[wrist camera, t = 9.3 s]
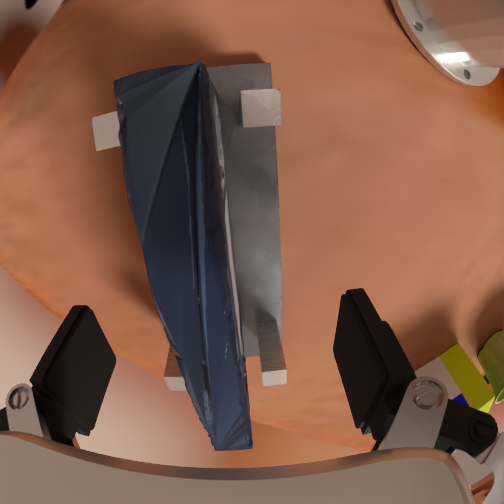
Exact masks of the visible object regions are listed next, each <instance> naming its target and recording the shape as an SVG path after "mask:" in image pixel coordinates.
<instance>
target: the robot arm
mask: <svg viewBox="0 0 504 504" xmlns="http://www.w3.org/2000/svg"><path fill="white" fill-rule="evenodd" d="M391 2H392V5H393V7H394V10H395V13H396V15H397V17H398V19H399V21H400V23H401V25H402V27H403V28H404V30H405V31H406V33H407V34H408V36H409V37H410V39H411V41H412V42H413V43H414V44H415V46H416V47H417V48H418V50H419V51H420V52H421V53H422V55H423V56H424V57H425V58H426V59H427V60H428V61H429V62H430V63H431V64H432V65H433V66H434V67H435V68H437V69H438V70H439V71H440V72H441V73H443V74H444V75H446V76H447V77H449V78H450V79H452V80H453V81H456V82H458V83H461V84H464V85H470V86H483V85H486V84H489V83H490V82H491V81H493V80H494V79H495V77H496V76H497V74H498V73H499V70H500V68H504V0H391ZM333 352H334V357H335V360H336V363H337V366H338V369H339V373H340V376H341V379H342V382H343V386H344V389H345V392H346V396H347V399H348V402H349V406H350V409H351V413H352V416H353V420H354V423H355V426H356V428H357V429H358V428H361V431H362V434H363V435H364V434H368V433H372V436H373V439H374V440H375V442H374V444H373V446H372V448H371V450H370V452H367V453H362V454H357V455H351V456H346V457H341V458H336V459H331V460H324V461H318V462H310V463H303V464H295V465H286V466H275V467H261V468H231V469H230V468H221V469H220V468H193V467H180V466H179V467H178V466H169V465H160V464H152V463H145V462H138V461H132V460H127V459H121V458H116V457H111V456H107V455H102V454H98V453H94V452H90V451H86V450H83V449H80V447H79V444H78V442H77V440H76V437H75V433H76V432H77V433H79V434H82V435H86V436H89V434H90V431H91V430H93V429H94V427H95V423H96V420H97V417H98V414H99V411H100V408H101V405H102V402H103V398H104V396H105V393H106V389H107V387H108V384H109V381H110V378H111V375H112V373H113V370H114V367H115V364H116V357H115V354H114V352H113V350H112V349H111V347H110V345H109V343H108V341H107V339H106V337H105V335H104V333H103V331H102V329H101V327H100V325H99V323H98V321H97V319H96V317H95V314H94V312H93V311H92V310H91V309H90V308H89V307H88V306H86V305H75V306H73V307H72V309H71V310H70V312H69V313H68V315H67V316H66V318H65V319H64V321H63V323H62V324H61V326H60V327H59V329H58V331H57V332H56V334H55V336H54V337H53V339H52V341H51V342H50V344H49V346H48V347H47V349H46V351H45V353H44V354H43V356H42V358H41V360H40V362H39V363H38V365H37V367H36V369H35V371H34V373H33V375H32V376H31V378H30V382H31V383H32V385H33V386H32V388H31V387H30V386H29V385H27V384H18V385H16V386H14V387H13V388H12V389H11V390H10V391H9V393H8V395H7V398H6V407H5V408H3V409H1V410H0V504H504V432H502V433H501V434H500V433H499V432H498V427H497V423H496V422H495V419H494V418H493V417H492V416H491V415H489V414H488V413H486V412H483V411H480V410H477V409H475V408H472V407H469V406H467V405H464V404H462V403H459V402H456V401H454V400H451V399H449V398H448V392H447V389H446V387H445V386H444V384H443V383H442V382H441V381H439V380H438V379H436V378H434V377H429V376H422V377H418V378H417V376H416V374H415V372H414V370H413V368H412V366H411V364H410V362H409V361H408V359H407V357H406V355H405V353H404V351H403V349H402V347H401V345H400V344H399V342H398V340H397V338H396V336H395V334H394V333H393V331H392V329H391V327H390V325H389V324H388V323H387V322H386V321H382V320H381V319H380V317H379V315H378V313H377V311H376V310H375V308H374V306H373V304H372V303H371V301H370V299H369V297H368V296H367V294H366V292H365V290H364V289H363V288H358V289H350V290H347V291H346V294H343V295H342V296H341V301H340V308H339V315H338V321H337V327H336V333H335V339H334V345H333ZM469 485H470V487H471V489H470V487H469Z"/></svg>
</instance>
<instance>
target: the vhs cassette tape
mask: <svg viewBox="0 0 504 504" xmlns="http://www.w3.org/2000/svg"><path fill="white" fill-rule="evenodd" d="M114 92H115V99H116V101H117V115H118V120H119V125H120V127H119V133H118V138H119V142H120V145H121V149H122V156H123V167H124V177H125V184H126V190H127V196H128V201H129V205H130V208H131V211H132V214H133V217H134V220H135V223H136V226H137V229H138V233H139V237H140V240H141V244H142V248H143V252H144V258H145V263H146V269H147V274H148V279H149V283H150V287H151V291H152V294H153V298H154V301H155V304H156V307H157V310H158V313H159V316H160V318H161V321H162V323H163V326H164V329H165V332H166V335H167V338H168V340H169V343H170V345H171V346H172V347H173V348H174V349H175V350H176V352H177V353H178V354H179V355H180V356H181V357H182V358H180V357H178V356H176V355H175V357H176V360H177V363H178V366H179V369H180V372H181V374H182V377H183V379H184V381H185V387H186V390H187V392H188V394H189V395H190V397H191V399H192V403H193V405H194V407H195V410H196V412H197V414H198V415H199V419H200V421H201V422H202V424H203V425H204V428H205V429H206V430H207V432H208V433H209V435H208V436H209V437H210V438H211V443H212V445H213V446H214V449H215V451H225V450H245V449H252V446H253V441H252V432H251V420H250V405H249V395H248V385H247V373H246V360H245V359H246V358H245V352H244V341H243V333H242V322H241V313H240V304H239V294H238V284H237V276H236V268H235V258H234V248H233V239H232V230H231V220H230V209H229V199H228V188H227V179H226V170H225V160H224V150H223V139H222V127H221V118H220V101H219V98H218V93H217V91H216V89H215V87H214V85H213V82H212V80H211V77H210V76H209V73H208V70H207V68H206V67H205V65H204V64H202V62H201V61H199V62H196V63H193V64H190V65H178V66H169V67H163V68H158V69H153V70H148V71H143V72H138V73H135V74H132V75H129V76H126V77H123V78H120V79H118V80H115V81H114Z"/></svg>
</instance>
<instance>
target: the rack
mask: <svg viewBox="0 0 504 504" xmlns="http://www.w3.org/2000/svg"><path fill="white" fill-rule="evenodd" d="M207 70H208V73H209V76H210V77H211V80H212V82H213V85H214V87H215V89H216V91H217V93H218V98H219V101H220V118H221V127H222V139H223V150H224V160H225V170H226V179H227V188H228V199H229V209H230V220H231V230H232V239H233V248H234V258H235V268H236V276H237V284H238V294H239V304H240V313H241V322H242V333H243V341H244V352H245V357H252V356H260V364H261V372H262V381H263V386H269V385H278V384H286V375H287V369H286V364H285V359H284V354H283V349H282V300H281V253H280V221H279V196H278V174H277V154H276V136H275V126H281V125H282V112H281V97H280V89H272V77H271V64H270V63H255V64H237V65H225V66H215V67H207ZM92 124H93V132H94V139H95V146H96V151H100V150H104V149H109V148H113V147H117V146H121V145H120V142H119V138H118V133H119V127H120V125H119V120H118V115H117V111H114V112H111V113H107V114H103V115H100V116H96V117H93V118H92ZM175 355H176V356H178V357H180V358H182V357H181V356H180V355H179V354H178V353H177V352H176V350H175V349H174V348H173V347H172V346H171V345H170V348H169V353H168V358H167V363H166V368H165V373H164V379H165V381H166V383H167V385H168V387H169V389H170V390H176V391H178V390H180V391H183V390H186V387H185V381H184V379H183V377H182V374H181V372H180V369H179V366H178V363H177V360H176V357H175Z"/></svg>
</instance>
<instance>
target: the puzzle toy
mask: <svg viewBox="0 0 504 504" xmlns="http://www.w3.org/2000/svg"><path fill="white" fill-rule="evenodd" d="M415 374H416V376H417V378H418V377H422V376H429V377H434V378H436V379H438V380H439V381H441V382H442V383H443V384H444V386H445V387H446V389H447V392H448V398H449V399H451V400H454V401H456V402H459V403H462V404H464V405H467V406H469V407H472V408H475V409H477V410H480V411H483V412H486V413H488V411H489V409H490V407H491V405H492V402H493V400H494V398H495V395H494V393H493V392H492V390H491V389H490V387H489V386H488V384H487V383H486V381H485V380H484V378H483V377H482V375H481V374H480V372H479V371H478V369H477V368H476V367H475V365H474V364H473V362H472V361H471V360H470V358H469V357H468V355H467V354H466V353H465V351H464V350H463V349H462V347H461V346H460V345H459V343H457V344H456V345H454V346H453V347H452V348H450V349H449V350H447V351H446V352H444V353H443V354H441V355H440V356H439V357H437V358H436V359H434V360H432V361H431V362H429V363H428V364H426V365H425V366H423V367H421V368H420V369H418V370H417V371H415Z"/></svg>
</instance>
